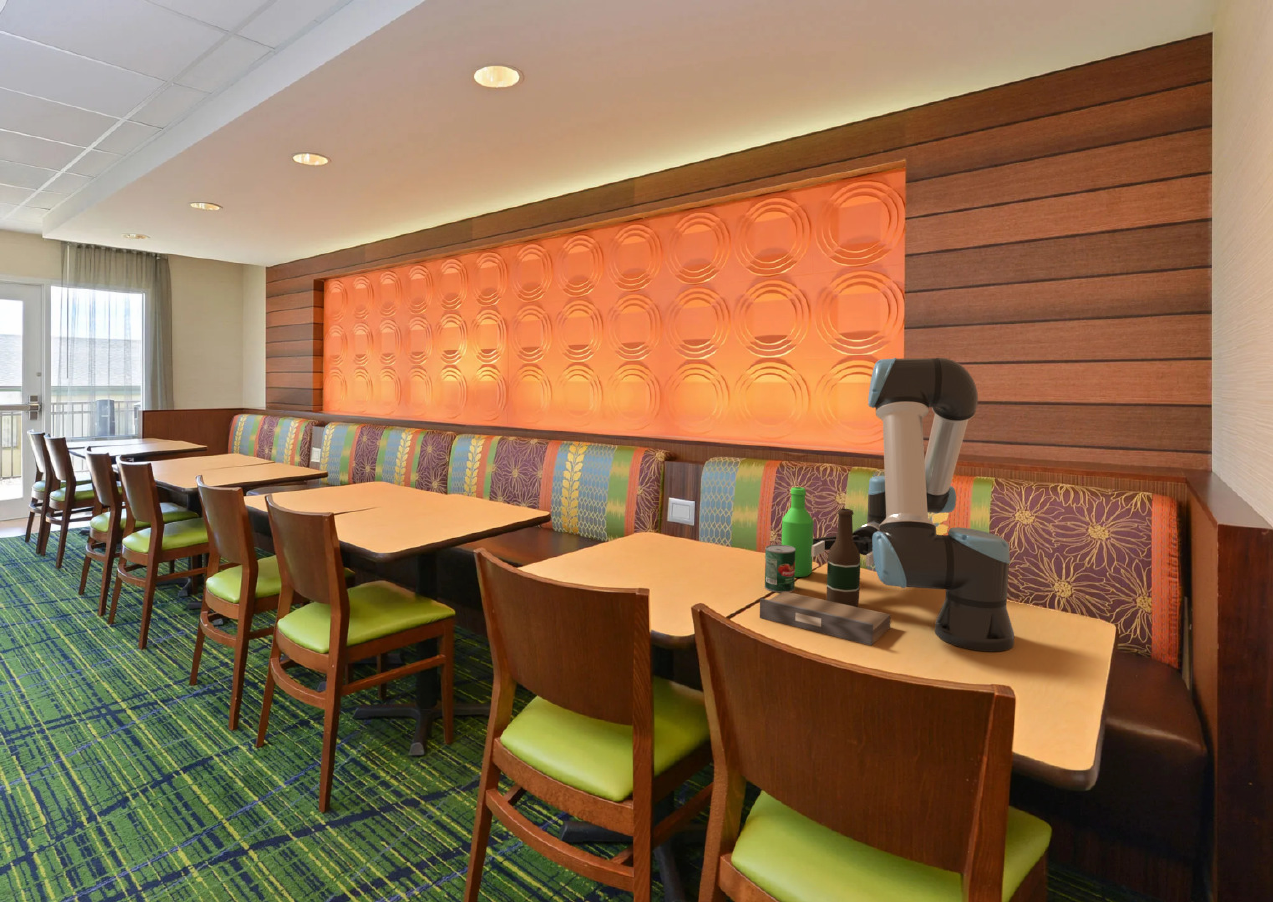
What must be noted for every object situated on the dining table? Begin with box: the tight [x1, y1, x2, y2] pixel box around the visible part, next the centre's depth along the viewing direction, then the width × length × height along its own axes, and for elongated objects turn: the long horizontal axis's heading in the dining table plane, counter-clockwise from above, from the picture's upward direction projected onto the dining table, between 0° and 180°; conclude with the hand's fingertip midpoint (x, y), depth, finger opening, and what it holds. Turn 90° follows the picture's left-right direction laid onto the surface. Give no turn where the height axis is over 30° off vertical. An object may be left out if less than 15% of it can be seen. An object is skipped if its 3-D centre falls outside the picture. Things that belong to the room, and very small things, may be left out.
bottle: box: [781, 486, 814, 578], centre depth 184 cm, size 9×9×25 cm
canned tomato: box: [764, 544, 796, 594], centre depth 172 cm, size 8×8×11 cm
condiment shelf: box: [759, 591, 892, 646], centre depth 148 cm, size 26×13×4 cm, turn 52°
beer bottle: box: [826, 508, 861, 607], centre depth 159 cm, size 8×8×24 cm
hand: (839, 555), depth 156 cm, fingers open, 13 cm apart
